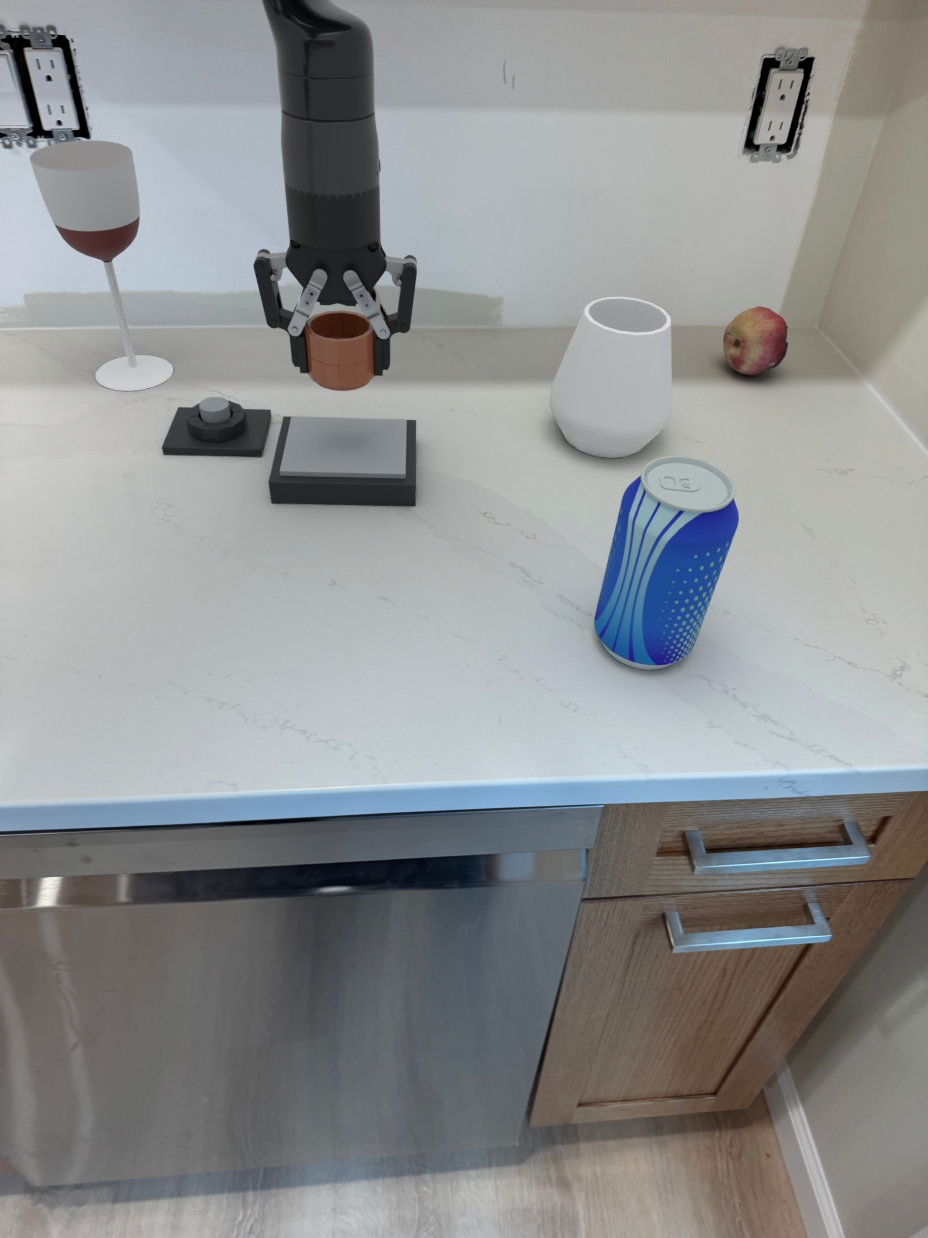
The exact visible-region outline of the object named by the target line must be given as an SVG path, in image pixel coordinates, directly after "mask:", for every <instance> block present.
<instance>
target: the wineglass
mask: <svg viewBox="0 0 928 1238" xmlns="http://www.w3.org/2000/svg"><path fill="white" fill-rule="evenodd" d="M29 161H30V164H31V168H32V171H33V174H34V177H35V181H36V183H37V186H38V188H39V189H38V190H39V192H40V194H41V197H42V200H43V202H44V206H45V207H46V210H47V212H48V215H49V217H50V218H51V221H52V223H53V224H54V226H55V228H56V230H57V231H58V233H59V235H60V236H61V238H62V239H63V241H64V242H65V243H66V244H67V245H68V246H69V247H70V248H72V249H73V250H75V251H77V252H78V253H80V254H82V255H84V256H87V257H90V258H93V259H96V260H100V261H102V263H103V265H104V270H105V273H106V278H107V283H108V286H109V291H110V294H111V295H110V296H111V298H112V302H113V307H114V310H115V315H116V318H117V319H116V320H117V322H118V327H119V330H120V334H121V338H122V339H121V340H122V343H123V347H124V350H125V351H124V352H125V355H126V356H122V357H118V358H115V359H111V360H109V361H107V362H105V363H104V364H103V365H101V366H100V367H99V368H98V369H97V370H96V372H95V380H96V381H97V383H98V384H99V385H101V386H102V387H105V388H106V389H109V390H110V389H111V390H115V391H120V392H121V391H122V392H123V391H124V392H133V391H143V390H146V389H147V390H148V389H151V388H154V387H156V386H159V385H161V384H163V383H165V382H166V381H168V380H169V379H170V378H171V377H172V375H173V373H174V366H173V365H172V364H171V363H170V362H169V361H168V360H166V359H164V358H162V357H159V356H154V355H145V354H136V355H135V351H134V347H133V343H132V339H131V335H130V330H129V326H128V321H127V318H126V313H125V309H124V305H123V302H122V297H121V293H120V289H119V284H118V279H117V275H116V272H115V268H114V263H113V261H114V259H115V258H116V257H118V256H119V255H120V254H122V253H123V252H125V251H126V250H127V249H128V248H129V247H130V246H131V245H132V243H133V242H134V240H135V239H136V238H137V235H138V232H139V227H140V217H141V208H140V207H141V205H140V195H139V187H138V180H137V173H136V166H135V162H134V156H133V151H132V149H131V148H130V147H128V146H126V145H125V144H122V143H119V142H113V141H107V140H90V139H89V140H87V139H86V140H71V141H65V142H60V143H59V142H58V143H54V144H50V145H46V146H44V147H41V148H39V149H37V150H35V151H33V152H32V153H31V154H30V156H29Z"/></svg>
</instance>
